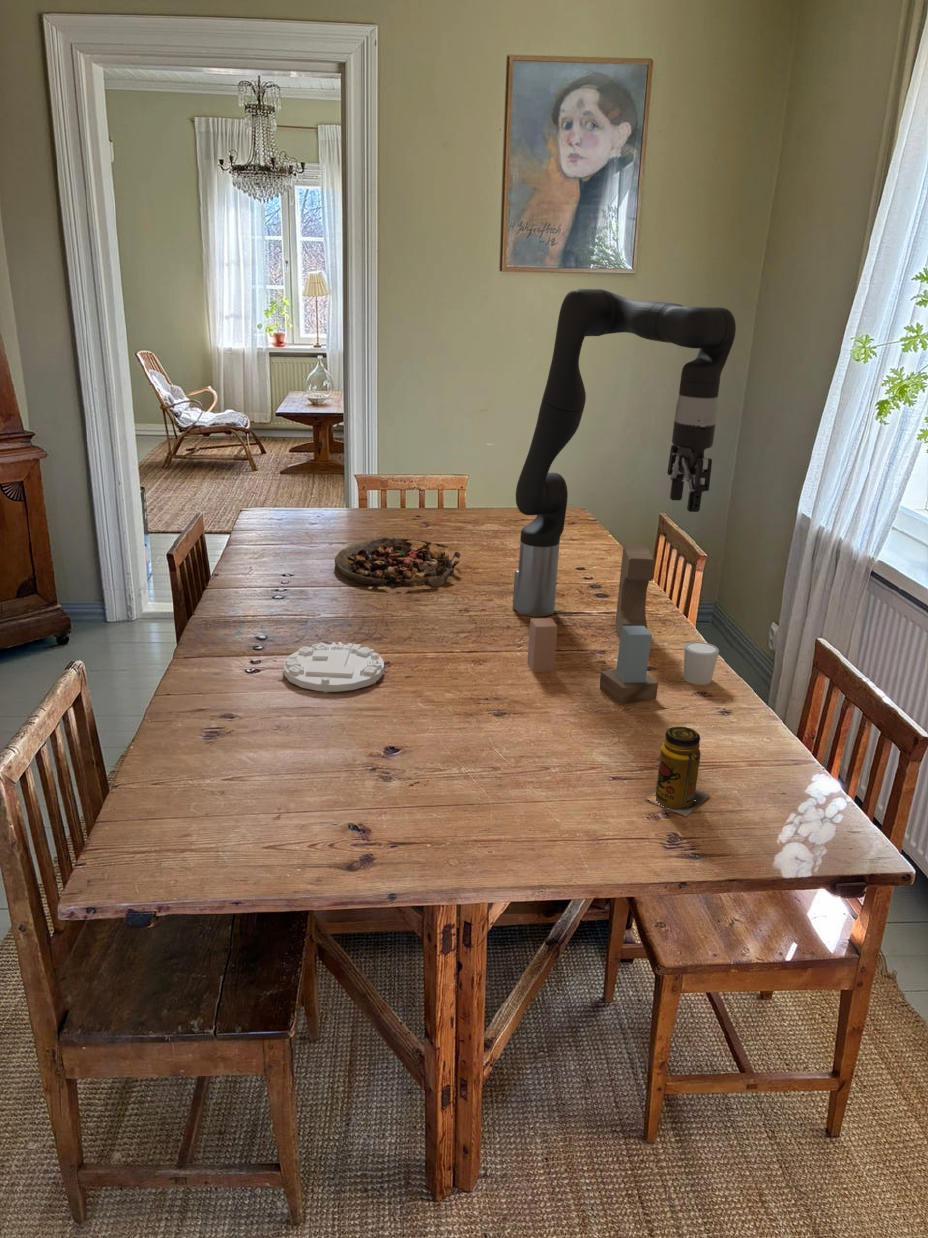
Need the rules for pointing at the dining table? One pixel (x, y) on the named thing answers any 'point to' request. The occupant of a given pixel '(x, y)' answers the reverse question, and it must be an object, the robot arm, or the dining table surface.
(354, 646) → the embossed medallion
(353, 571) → the food dish
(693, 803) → the condiment
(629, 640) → the blue pillar
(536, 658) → the terracotta pillar
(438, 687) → the dining table surface
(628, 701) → the walnut plinth
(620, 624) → the decorative block
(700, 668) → the white short cylinder
